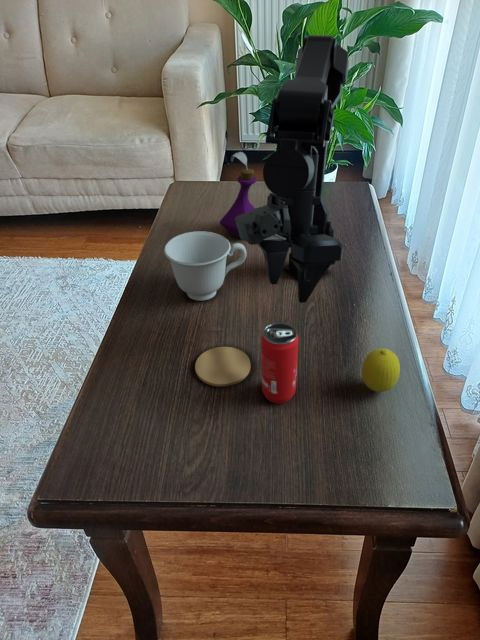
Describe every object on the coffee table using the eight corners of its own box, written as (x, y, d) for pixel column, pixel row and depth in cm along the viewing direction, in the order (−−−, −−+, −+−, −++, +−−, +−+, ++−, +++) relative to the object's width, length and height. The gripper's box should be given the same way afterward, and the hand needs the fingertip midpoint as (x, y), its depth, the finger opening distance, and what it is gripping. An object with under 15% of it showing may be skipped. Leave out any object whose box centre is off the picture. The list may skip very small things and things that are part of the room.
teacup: (251, 305, 98) (250, 259, 91) (171, 314, 96) (164, 267, 89) (243, 271, 107) (241, 227, 100) (169, 278, 105) (163, 233, 98)
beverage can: (260, 382, 82) (260, 322, 74) (293, 380, 82) (296, 320, 75) (263, 406, 78) (263, 346, 70) (297, 404, 79) (301, 343, 71)
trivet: (231, 342, 90) (231, 339, 89) (261, 372, 84) (261, 369, 84) (185, 362, 86) (185, 359, 85) (213, 395, 80) (212, 392, 80)
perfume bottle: (265, 230, 120) (265, 151, 108) (247, 244, 115) (245, 163, 103) (238, 222, 123) (235, 144, 111) (219, 235, 118) (214, 156, 106)
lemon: (395, 404, 78) (404, 365, 73) (357, 399, 79) (364, 360, 74) (395, 379, 82) (404, 341, 77) (360, 375, 83) (366, 336, 78)
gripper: (218, 179, 78) (216, 279, 85) (275, 199, 63) (268, 319, 70) (283, 179, 83) (277, 274, 89) (351, 198, 68) (337, 310, 74)
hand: (287, 292), depth 80 cm, fingers open, 9 cm apart
